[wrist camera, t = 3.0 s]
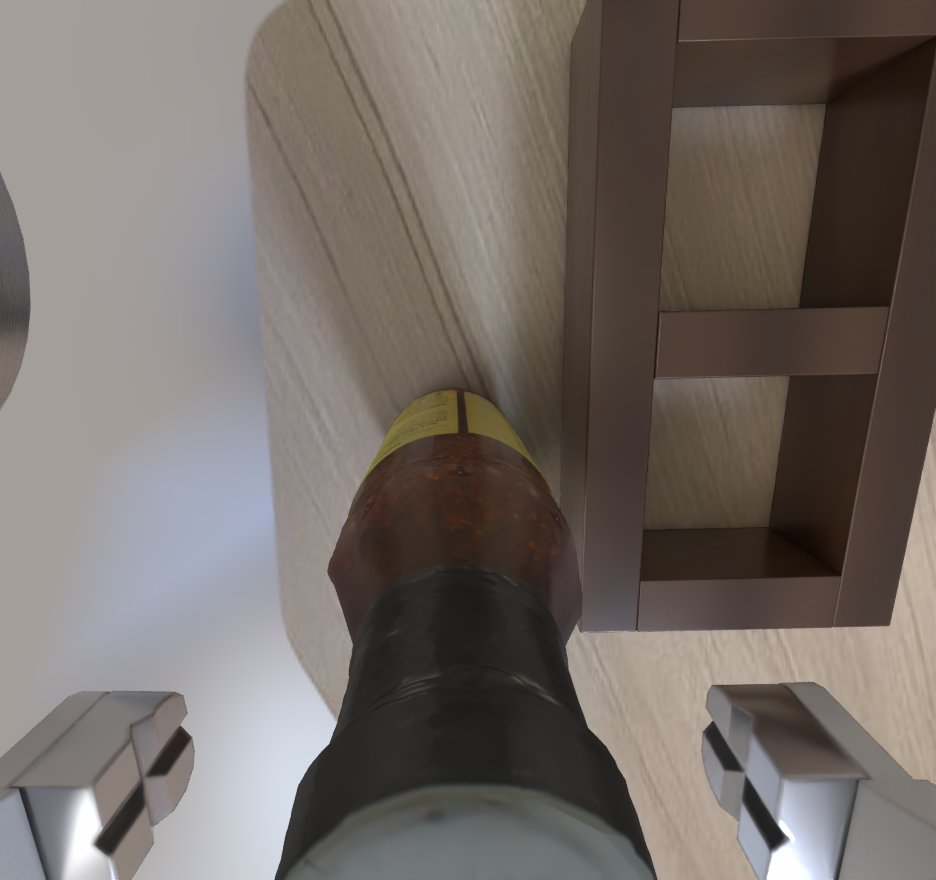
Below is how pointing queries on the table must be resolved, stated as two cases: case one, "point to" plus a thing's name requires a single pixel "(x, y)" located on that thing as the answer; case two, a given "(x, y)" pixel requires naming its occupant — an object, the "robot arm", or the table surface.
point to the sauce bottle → (460, 676)
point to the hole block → (753, 310)
